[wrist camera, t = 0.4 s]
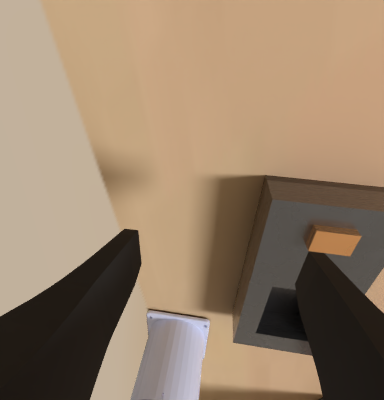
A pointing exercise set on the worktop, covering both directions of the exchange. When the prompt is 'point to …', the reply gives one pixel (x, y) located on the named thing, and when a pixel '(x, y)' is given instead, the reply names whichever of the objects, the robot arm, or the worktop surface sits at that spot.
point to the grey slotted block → (303, 253)
